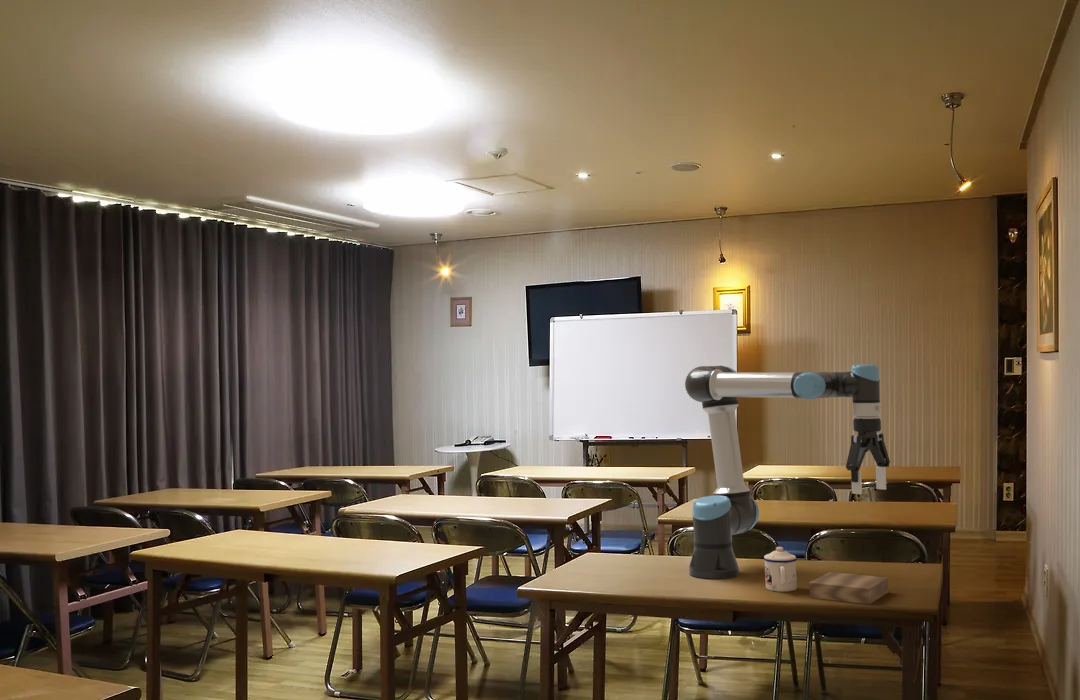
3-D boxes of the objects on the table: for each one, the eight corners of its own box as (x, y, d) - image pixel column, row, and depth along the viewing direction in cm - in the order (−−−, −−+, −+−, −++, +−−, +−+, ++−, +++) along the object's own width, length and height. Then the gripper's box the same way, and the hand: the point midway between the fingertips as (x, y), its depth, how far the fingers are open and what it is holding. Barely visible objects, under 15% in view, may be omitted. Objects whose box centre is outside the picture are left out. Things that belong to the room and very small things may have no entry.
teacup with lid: (763, 585, 261) (761, 544, 261) (795, 585, 259) (794, 544, 260) (767, 594, 249) (765, 552, 249) (801, 594, 247) (799, 552, 248)
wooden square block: (809, 597, 244) (809, 582, 244) (830, 586, 257) (829, 571, 257) (869, 604, 234) (868, 589, 234) (888, 592, 247) (887, 577, 247)
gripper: (856, 419, 249) (858, 496, 248) (900, 416, 265) (903, 488, 264) (831, 419, 255) (834, 494, 254) (876, 415, 271) (879, 486, 270)
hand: (869, 491), depth 259 cm, fingers open, 13 cm apart
